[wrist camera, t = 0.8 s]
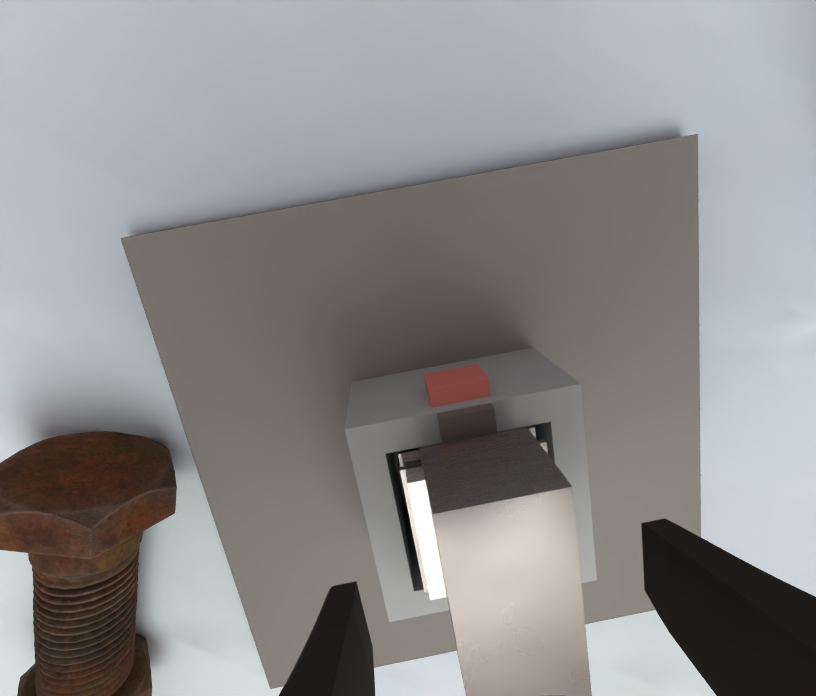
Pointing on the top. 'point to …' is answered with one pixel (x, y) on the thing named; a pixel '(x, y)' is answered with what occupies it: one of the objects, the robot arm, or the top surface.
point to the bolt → (85, 555)
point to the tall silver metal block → (502, 560)
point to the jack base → (434, 374)
